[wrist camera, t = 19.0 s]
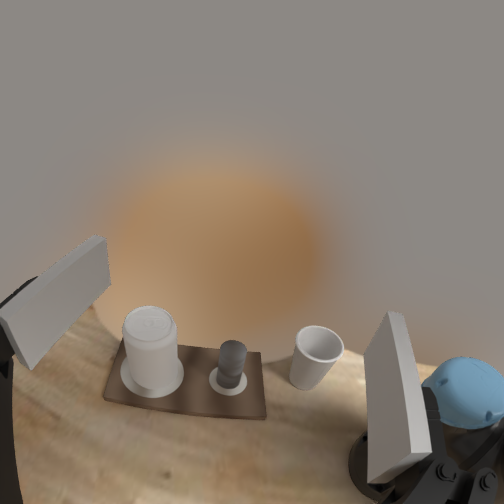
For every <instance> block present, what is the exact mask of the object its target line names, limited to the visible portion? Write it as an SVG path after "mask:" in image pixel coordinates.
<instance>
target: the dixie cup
mask: <svg viewBox="0 0 504 504" xmlns="http://www.w3.org/2000/svg"><path fill="white" fill-rule="evenodd" d="M295 340H296V345H295V350H294V354H293V359H292V364H291V369H290V373H289V380H290V382H291V383H292V384H293V385H294V386H295V387H296V388H298V389H301V390H311V389H313V388H315V387H316V386H317V385H318V383H319V382H320V381H321V380H322V378H323V377H324V376H325V375H326V373H327V372H328V371H329V370H330V368H331V367H332V366H333V365H334V363H335V362H336V361H337V360H338V359H339V358H340V357H341V356H342V354H343V352H344V345H343V342H342V340H341V339H340V337H339V336H338V335H337V334H336V333H335V332H333V331H332V330H330V329H328V328H325V327H322V326H307V327H304V328H302V329H301V330H300V331H299V332H298V333H297V335H296V338H295Z"/></svg>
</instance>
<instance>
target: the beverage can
mask: <svg viewBox="0 0 504 504" xmlns="http://www.w3.org/2000/svg"><path fill="white" fill-rule="evenodd" d="M122 333H123V339H124V344H125V349H126V354H127V359H128V363H129V368H130V372H131V376H132V378H133V379H134V381H135V382H136V383H137V384H139V385H140V386H142V387H144V388H147V389H153V390H157V389H162V388H165V387H167V386H169V385H171V384H172V383H173V382H174V381H175V379H176V377H177V374H178V355H177V327H176V324H175V322H174V320H173V318H172V316H171V315H170V314H169V313H168V312H167V311H166V310H164V309H162V308H160V307H156V306H142V307H138V308H136V309H134V310H132V311H131V312H130V313H128V315H127V316H126V318H125V321H124V324H123V327H122Z"/></svg>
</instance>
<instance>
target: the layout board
mask: <svg viewBox="0 0 504 504" xmlns="http://www.w3.org/2000/svg"><path fill="white" fill-rule="evenodd" d="M260 354H261V353H260V352H247V349H246V347H245V345H244V344H242V343H241V342H239V341H235V340H229V341H226V342H224V343H223V344H222V345H221V347H220V349H212V348H202V347H193V346H185V345H177V355H178V374H177V377H176V379H175V381H174V382H173V383H172V384H171V385H169V386H167V387H165V388H162V389H157V390H153V389H147V388H144V387H142V386H140V385H139V384H137V383H136V382H135V381H134V379H133V378H132V376H131V372H130V368H129V363H128V359H127V354H126V349H125V344H124V339H123V338H122V341H121V344H120V347H119V350H118V352H117V355H116V358H115V361H114V364H113V367H112V370H111V373H110V376H109V380H108V383H107V386H106V389H105V392H104V396H103V397H104V400H106V401H110V402H115V403H119V404H124V405H129V406H134V407H139V408H145V409H150V410H157V411H163V412H170V413H177V414H185V415H194V416H204V417H215V418H230V419H253V420H265V418H266V407H265V397H264V386H263V375H262V364H261V355H260Z"/></svg>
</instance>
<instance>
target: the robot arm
mask: <svg viewBox="0 0 504 504" xmlns="http://www.w3.org/2000/svg"><path fill="white" fill-rule="evenodd" d="M110 285H111V280H110V273H109V264H108V254H107V243H106V238H104V237H101V236H98V235H93V236H92V237H90V238H89V239H87V240H86V241H85V242H83V243H82V244H80V245H79V246H78V247H76V248H75V249H74V250H72V251H71V252H70V253H68V254H67V255H65V257H63V258H62V259H60V260H59V261H58V262H56V263H55V264H54V265H53V266H51V267H50V268H49V269H48V270H46V271H45V272H44V273H42V274H41V275H40V276H37V277H35V278H32V279H30V280H28V281H26V282H25V283H24V284H23V285H22V286H20V288H19V289H17V290H16V291H14V293H13V294H11V295H10V296H9V297H7V298H6V299H5V300H4V301H3V302H2V303H0V504H23V500H22V495H21V490H20V485H19V479H18V473H17V466H16V458H15V449H14V437H13V418H12V384H13V364H14V363H13V359H12V356H13V355H14V354H16V356H17V358H18V360H19V362H20V363H21V364H23V365H24V366H25V367H27V368H28V369H29V370H32V369H33V368H34V367H35V366H36V365H37V363H38V362H39V361H40V360H41V359H42V358H43V356H44V355H45V354H46V353H47V352H48V351H49V350H50V348H51V347H52V346H53V345H54V344H55V343H56V342H57V341H58V340H59V338H60V337H61V336H62V335H63V334H64V333H65V332H66V331H67V330H68V329H69V328H70V326H71V325H72V324H73V323H74V322H75V321H76V320H77V319H78V318H79V317H80V316H81V315H82V314H83V313H84V312H85V311H86V310H87V309H88V307H89V306H90V305H91V304H92V303H93V302H94V301H95V300H96V299H97V298H98V297H99V296H100V295H101V294H102V293H103V292H104V291H105V290H106V289H107V288H108V287H109V286H110ZM364 365H365V379H366V396H367V421H368V430H367V431H366V432H365V433H363V434H362V435H361V436H360V437H359V438H358V440H357V441H356V442H355V444H354V445H353V447H352V449H351V452H350V456H349V471H350V475H351V478H352V480H353V482H354V483H355V485H356V486H357V488H358V489H359V490H360V491H361V492H362V493H363V494H365V495H366V496H368V497H370V498H372V499H374V500H377V501H379V503H378V504H504V378H503V376H502V375H501V374H500V373H499V372H498V371H497V370H496V369H494V368H493V367H492V366H490V365H489V364H487V363H485V362H483V361H481V360H478V359H475V358H471V357H469V358H466V357H456V358H452V359H449V360H447V361H445V362H444V363H442V364H441V365H440V366H439V367H438V368H437V369H436V370H435V371H434V372H433V373H432V375H431V376H429V377H428V378H427V379H425V380H424V382H423V383H422V384H420V379H419V375H418V370H417V366H416V362H415V358H414V354H413V350H412V346H411V342H410V338H409V335H408V331H407V328H406V324H405V321H404V317H403V314H400V313H396V312H391V311H387V313H386V315H385V317H384V318H383V320H382V322H381V324H380V326H379V328H378V330H377V331H376V333H375V335H374V337H373V339H372V340H371V342H370V344H369V346H368V347H367V349H366V351H365V352H364Z"/></svg>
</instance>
